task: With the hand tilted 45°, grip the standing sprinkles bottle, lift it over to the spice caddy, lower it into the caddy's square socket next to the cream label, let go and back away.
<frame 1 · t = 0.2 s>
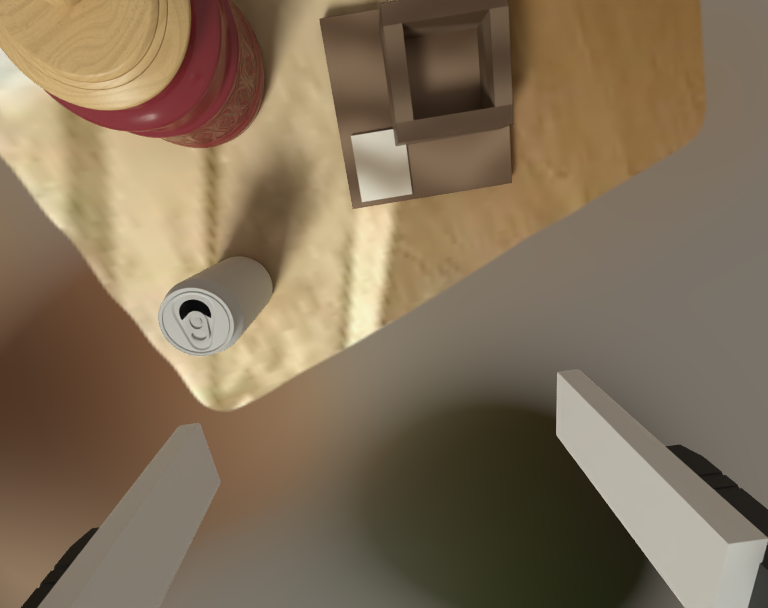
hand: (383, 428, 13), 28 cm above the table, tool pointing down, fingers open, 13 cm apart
spice caddy: (420, 110, 35), on the table
canister: (197, 73, 34), on the table
beverage can: (245, 283, 40), on the table
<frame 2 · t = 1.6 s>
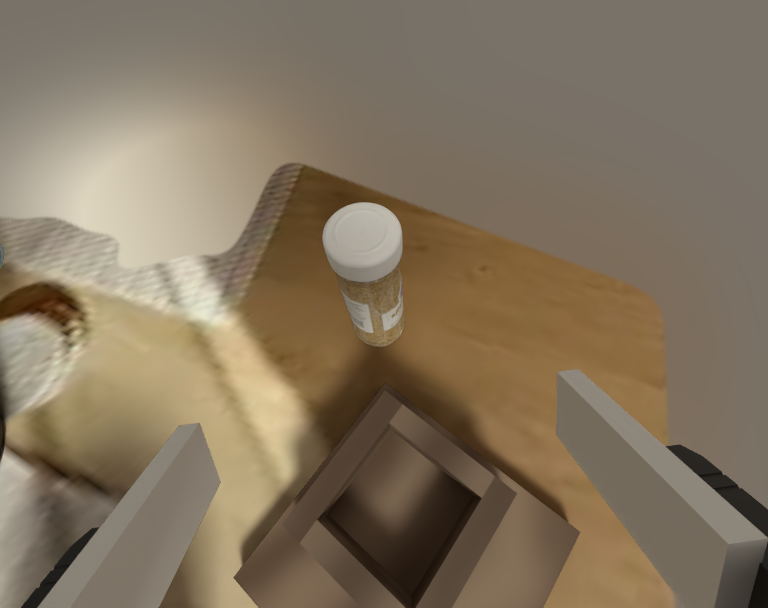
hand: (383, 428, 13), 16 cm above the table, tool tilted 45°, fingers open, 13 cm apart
spice caddy: (406, 550, 25), on the table
sprinkles bottle: (379, 324, 33), on the table
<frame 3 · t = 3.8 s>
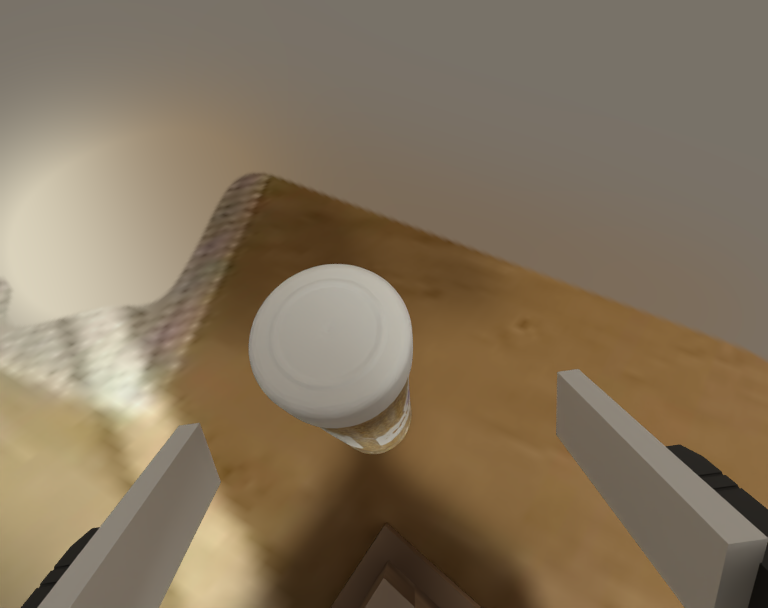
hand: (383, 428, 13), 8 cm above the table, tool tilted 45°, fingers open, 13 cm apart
sprinkles bottle: (373, 413, 22), on the table
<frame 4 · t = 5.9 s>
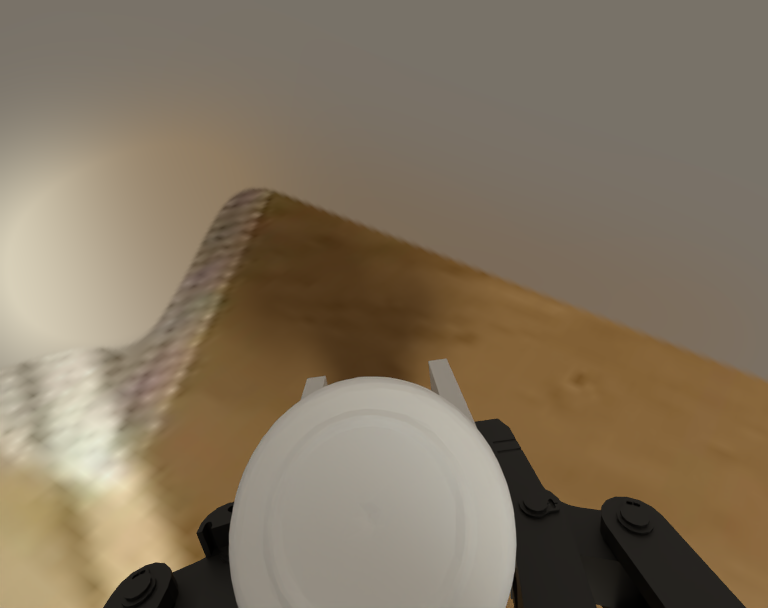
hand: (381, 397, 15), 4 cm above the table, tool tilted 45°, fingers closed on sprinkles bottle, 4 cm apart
sprinkles bottle: (397, 494, 18), on the table, touching gripper
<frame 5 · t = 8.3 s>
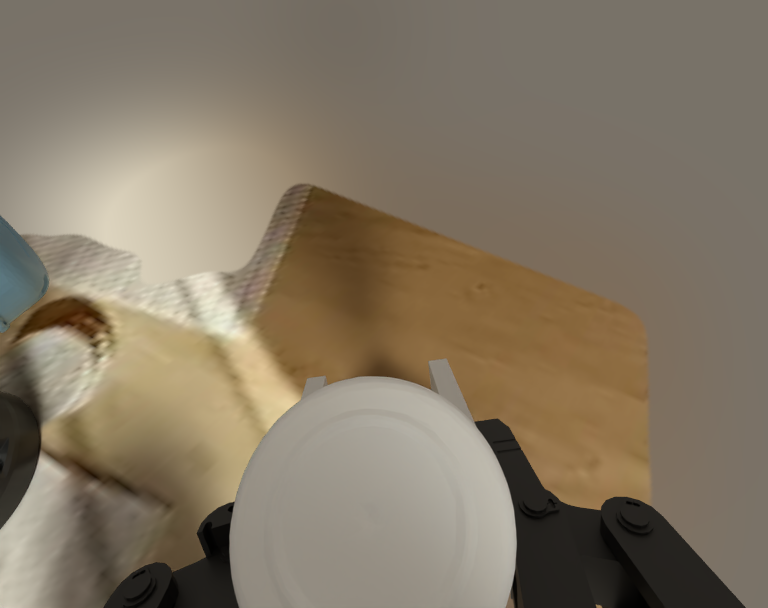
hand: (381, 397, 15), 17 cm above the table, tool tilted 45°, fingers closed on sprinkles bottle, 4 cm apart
sprinkles bottle: (397, 494, 18), point 13 cm above the table, touching gripper
when the fingers open (8 cm above the table, at t = 11.0 s): sprinkles bottle drops 2 cm, resting on spice caddy.
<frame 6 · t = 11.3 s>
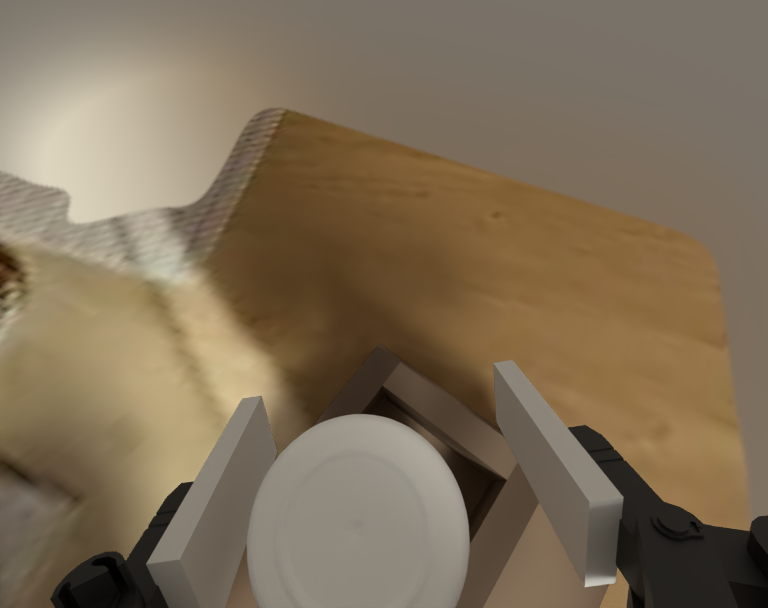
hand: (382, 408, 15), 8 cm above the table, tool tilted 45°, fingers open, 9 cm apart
spice caddy: (407, 552, 19), on the table
sprinkles bottle: (393, 495, 19), point 1 cm above the table, touching spice caddy
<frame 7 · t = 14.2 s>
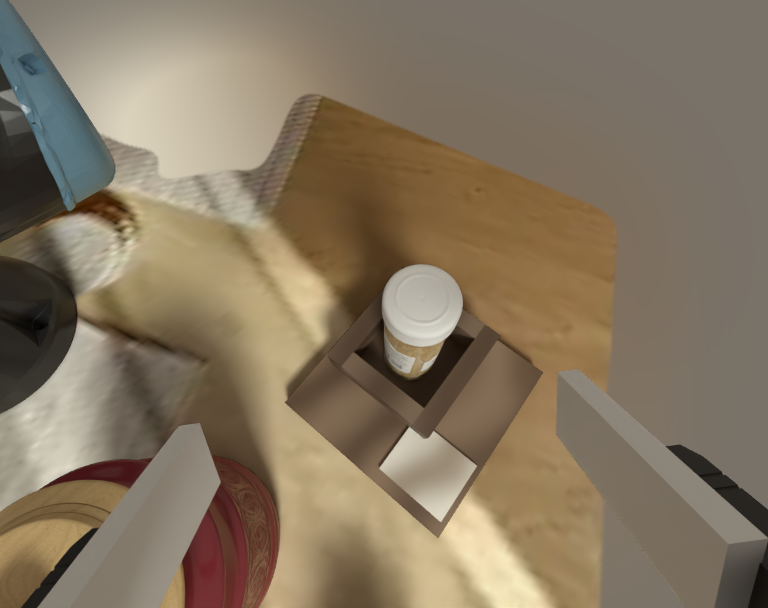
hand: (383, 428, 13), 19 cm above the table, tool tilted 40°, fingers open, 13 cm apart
spice caddy: (414, 389, 33), on the table
canister: (202, 543, 29), on the table
sprinkles bottle: (408, 356, 33), point 1 cm above the table, touching spice caddy
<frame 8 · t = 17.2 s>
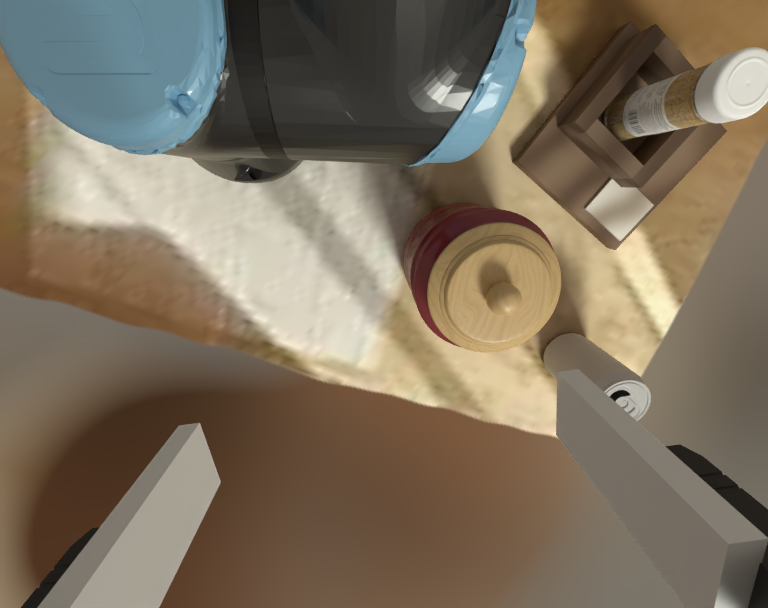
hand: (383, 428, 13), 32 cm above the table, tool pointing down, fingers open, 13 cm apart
spice caddy: (613, 147, 41), on the table
canister: (455, 257, 44), on the table
beverage can: (563, 352, 49), on the table
sprinkles bottle: (620, 118, 39), point 1 cm above the table, touching spice caddy
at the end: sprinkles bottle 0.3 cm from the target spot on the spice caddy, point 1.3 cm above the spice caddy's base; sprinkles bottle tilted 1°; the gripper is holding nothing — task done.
